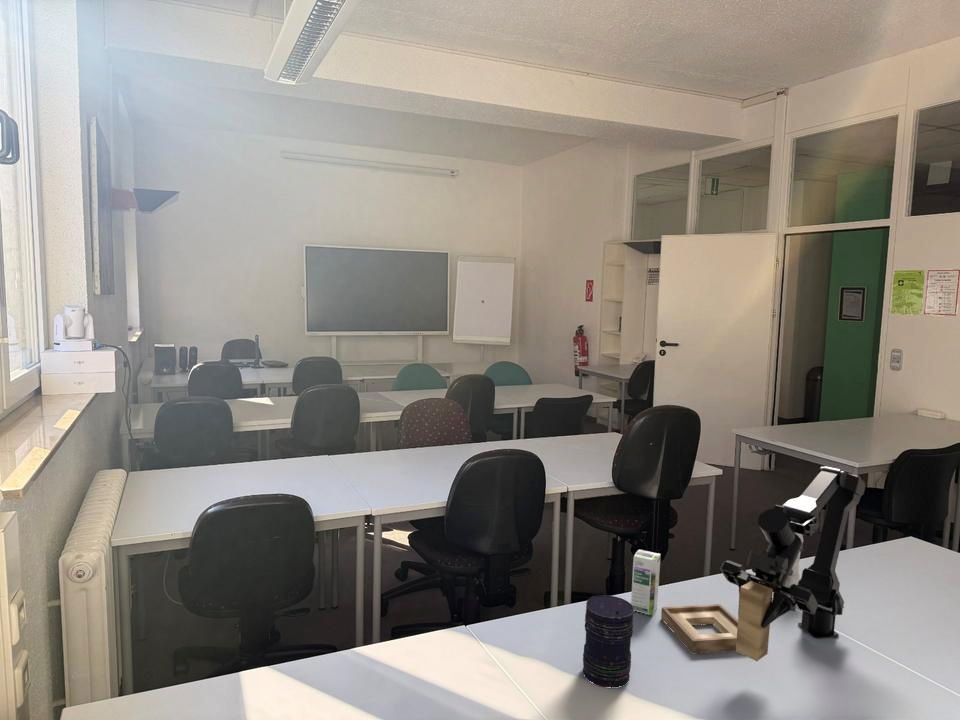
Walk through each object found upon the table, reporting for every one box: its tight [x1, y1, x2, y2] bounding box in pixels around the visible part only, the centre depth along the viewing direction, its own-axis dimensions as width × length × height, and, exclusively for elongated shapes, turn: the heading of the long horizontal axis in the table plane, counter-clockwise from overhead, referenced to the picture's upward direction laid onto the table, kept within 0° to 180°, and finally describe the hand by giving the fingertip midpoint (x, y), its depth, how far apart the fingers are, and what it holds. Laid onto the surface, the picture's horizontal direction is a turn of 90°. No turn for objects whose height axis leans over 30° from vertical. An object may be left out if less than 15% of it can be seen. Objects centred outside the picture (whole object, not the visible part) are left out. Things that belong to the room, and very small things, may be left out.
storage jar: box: [582, 594, 635, 689], centre depth 133 cm, size 10×10×15 cm
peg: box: [735, 581, 774, 662], centre depth 132 cm, size 4×4×14 cm
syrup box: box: [630, 549, 661, 616], centre depth 162 cm, size 6×6×14 cm
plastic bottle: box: [785, 533, 804, 588], centre depth 177 cm, size 6×7×20 cm
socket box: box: [660, 603, 738, 654], centre depth 152 cm, size 16×16×3 cm
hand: (750, 621), depth 131 cm, fingers closed on peg, 4 cm apart
